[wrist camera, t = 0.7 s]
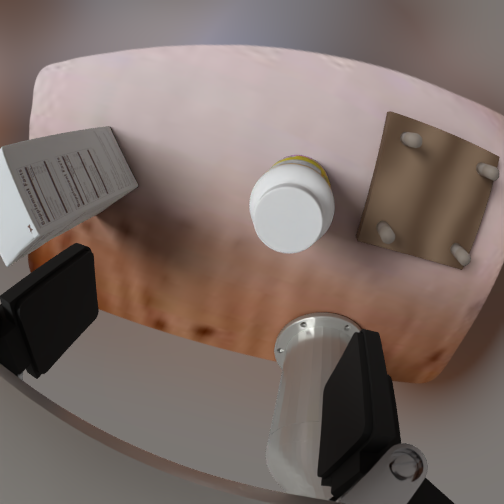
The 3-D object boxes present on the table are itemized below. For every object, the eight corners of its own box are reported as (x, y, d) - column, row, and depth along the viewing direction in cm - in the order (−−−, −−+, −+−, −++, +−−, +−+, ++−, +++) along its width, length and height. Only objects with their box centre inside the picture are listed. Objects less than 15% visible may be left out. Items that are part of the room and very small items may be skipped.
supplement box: (110, 123, 33) (1, 142, 18) (141, 185, 35) (41, 234, 20) (67, 161, 36) (-28, 194, 21) (94, 217, 39) (5, 270, 24)
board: (493, 155, 25) (513, 161, 21) (457, 264, 31) (471, 281, 27) (387, 111, 26) (398, 110, 22) (356, 235, 32) (360, 252, 28)
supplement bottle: (316, 223, 33) (315, 280, 21) (259, 203, 33) (227, 249, 22) (338, 166, 30) (352, 193, 18) (278, 145, 30) (254, 158, 19)
